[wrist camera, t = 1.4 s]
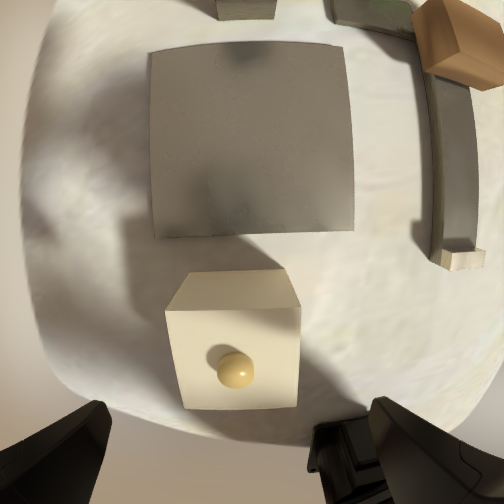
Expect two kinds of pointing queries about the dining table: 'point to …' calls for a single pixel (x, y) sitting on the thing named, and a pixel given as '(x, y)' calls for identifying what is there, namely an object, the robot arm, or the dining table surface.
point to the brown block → (460, 43)
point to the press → (292, 137)
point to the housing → (236, 340)
